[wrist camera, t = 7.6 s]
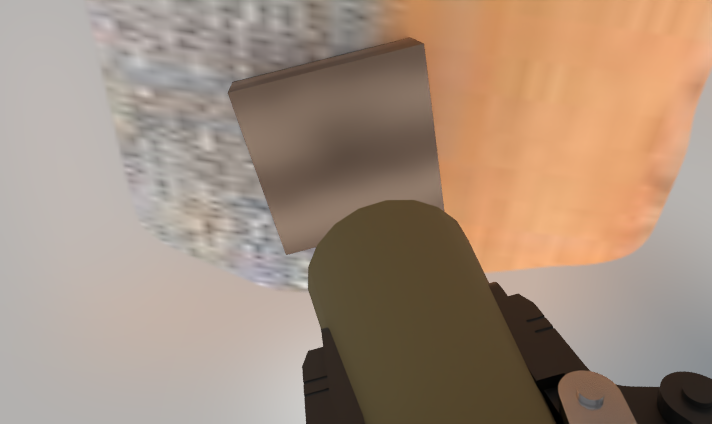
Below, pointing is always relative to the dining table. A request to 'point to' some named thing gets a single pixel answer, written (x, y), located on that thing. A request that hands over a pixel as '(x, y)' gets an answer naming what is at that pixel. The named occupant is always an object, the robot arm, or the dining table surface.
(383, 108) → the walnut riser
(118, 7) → the dining table surface
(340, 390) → the robot arm
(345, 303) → the olive knob-ended peg
